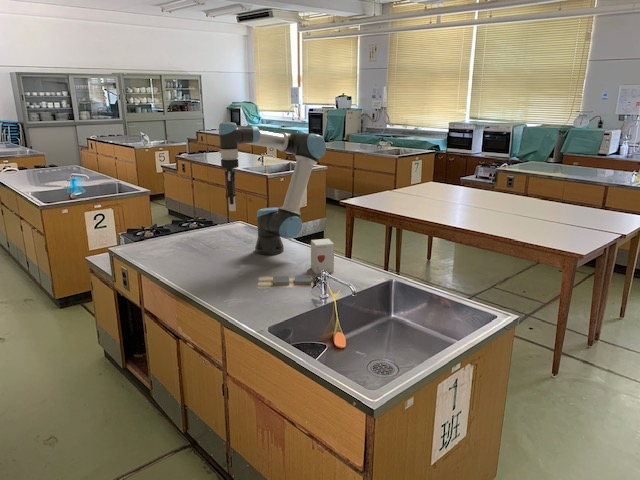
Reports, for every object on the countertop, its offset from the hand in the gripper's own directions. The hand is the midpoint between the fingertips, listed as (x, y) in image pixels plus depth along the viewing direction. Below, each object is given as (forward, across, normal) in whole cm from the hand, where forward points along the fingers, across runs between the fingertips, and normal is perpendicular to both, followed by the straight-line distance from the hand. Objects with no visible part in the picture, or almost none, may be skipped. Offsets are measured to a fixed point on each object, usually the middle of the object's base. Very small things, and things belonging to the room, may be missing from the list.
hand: (232, 210), depth 223 cm
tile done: (+28, +19, +31) cm, 46 cm away
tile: (+27, +15, +21) cm, 38 cm away
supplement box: (+30, +4, +41) cm, 50 cm away
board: (+29, +18, +23) cm, 42 cm away
